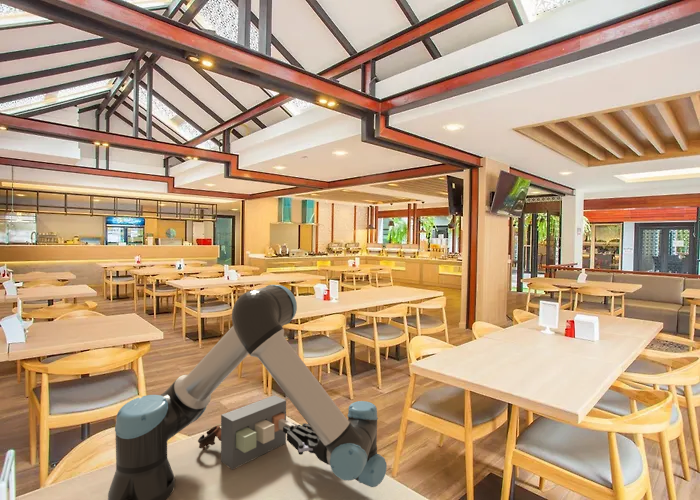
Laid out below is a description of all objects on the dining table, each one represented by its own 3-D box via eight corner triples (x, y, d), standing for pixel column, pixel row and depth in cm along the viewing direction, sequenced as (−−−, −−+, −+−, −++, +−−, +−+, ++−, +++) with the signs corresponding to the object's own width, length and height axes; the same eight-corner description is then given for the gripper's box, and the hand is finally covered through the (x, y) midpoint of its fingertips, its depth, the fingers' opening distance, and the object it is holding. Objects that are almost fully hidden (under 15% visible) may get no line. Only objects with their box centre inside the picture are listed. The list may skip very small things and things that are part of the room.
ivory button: (263, 443, 114) (263, 429, 114) (253, 438, 118) (253, 423, 118) (274, 438, 117) (274, 424, 117) (264, 433, 121) (264, 419, 121)
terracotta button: (274, 432, 121) (274, 418, 121) (264, 427, 125) (264, 413, 125) (284, 427, 124) (284, 414, 124) (274, 422, 128) (274, 409, 128)
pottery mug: (219, 464, 115) (205, 440, 115) (202, 467, 120) (189, 444, 120) (247, 436, 125) (234, 414, 125) (230, 441, 130) (218, 419, 130)
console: (232, 469, 111) (232, 421, 111) (221, 461, 115) (221, 414, 115) (285, 443, 126) (286, 400, 126) (274, 436, 130) (274, 395, 130)
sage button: (244, 452, 110) (244, 437, 109) (234, 446, 113) (234, 431, 113) (256, 447, 113) (256, 432, 112) (246, 441, 116) (246, 426, 116)
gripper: (317, 474, 102) (263, 443, 118) (350, 454, 112) (295, 427, 128) (317, 446, 102) (263, 418, 118) (350, 428, 112) (296, 405, 128)
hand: (280, 423), depth 123 cm, fingers closed
